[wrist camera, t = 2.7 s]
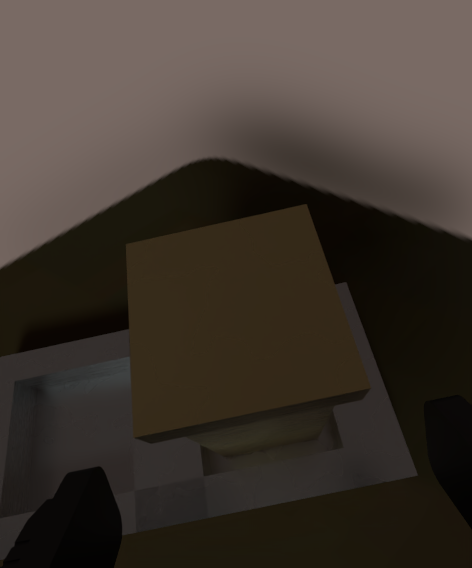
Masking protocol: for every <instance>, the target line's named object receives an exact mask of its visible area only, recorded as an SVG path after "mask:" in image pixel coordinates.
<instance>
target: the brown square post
mask: <svg viewBox="0 0 472 568" xmlns="http://www.w3.org/2000/svg"><path fill="white" fill-rule="evenodd" d="M126 257H127V284H128V310H129V336H130V362H131V389H132V415H133V438H135V439H138V440H141V441H144V442H147V443H150V444H153V443H158V442H163V441H168V440H172V439H177V438H182V437H186V438H188V439H190V440H192V441H194V442H196V443H198V444H200V445H202V446H204V447H206V448H208V449H210V450H212V451H214V452H216V453H218V454H220V455H222V456H224V457H225V458H226V457H231V456H235V455H240V454H245V453H250V452H255V451H260V450H264V449H269V448H274V447H279V446H284V445H289V444H294V443H298V442H303V441H308V440H313V439H318V438H319V436H320V434H321V432H322V430H323V428H324V426H325V424H326V422H327V420H328V418H329V416H330V414H331V412H332V410H333V408H334V406H336V405H341V404H345V403H350V402H355V401H360V400H363V398H364V397H365V396H366V394H367V393H368V392H369V391H370V389H371V386H370V383H369V380H368V377H367V374H366V372H365V369H364V366H363V363H362V360H361V357H360V354H359V352H358V349H357V346H356V343H355V340H354V337H353V335H352V332H351V329H350V326H349V323H348V320H347V318H346V315H345V312H344V309H343V306H342V303H341V301H340V298H339V295H338V292H337V289H336V286H335V284H334V281H333V278H332V275H331V272H330V269H329V267H328V264H327V261H326V258H325V255H324V252H323V249H322V247H321V244H320V241H319V238H318V235H317V232H316V230H315V227H314V224H313V221H312V218H311V215H310V213H309V210H308V207H307V204H304V205H300V206H295V207H291V208H286V209H282V210H277V211H273V212H269V213H264V214H260V215H255V216H251V217H246V218H242V219H237V220H233V221H228V222H224V223H219V224H215V225H210V226H206V227H201V228H197V229H192V230H188V231H183V232H179V233H174V234H170V235H165V236H161V237H156V238H152V239H148V240H143V241H139V242H134V243H130V244H126Z"/></svg>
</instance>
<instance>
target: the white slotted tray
mask: <svg viewBox="0 0 472 568" xmlns="http://www.w3.org/2000/svg"><path fill="white" fill-rule="evenodd" d="M335 286H336V289H337V292H338V295H339V298H340V301H341V303H342V306H343V309H344V312H345V315H346V318H347V320H348V323H349V326H350V329H351V332H352V335H353V337H354V340H355V343H356V346H357V349H358V352H359V354H360V357H361V360H362V363H363V366H364V369H365V372H366V374H367V377H368V380H369V383H370V386H371V389H370V391H369V392H368V393H367V394H366V396H365V397H364V398H363V400H360V401H355V402H350V403H345V404H341V405H336V406H334V408H333V410H332V412H331V414H330V416H329V418H328V420H327V422H326V424H325V426H324V428H323V430H322V432H321V434H320V436H319V438H318V439H313V440H308V441H303V442H298V443H294V444H289V445H284V446H279V447H274V448H269V449H264V450H260V451H255V452H250V453H245V454H240V455H235V456H231V457H226V458H225V457H224V456H222V455H220V454H218V453H216V452H214V451H212V450H210V449H208V448H206V447H204V446H202V445H200V444H198V443H196V442H194V441H192V440H190V439H188V438H186V437H182V438H177V439H172V440H168V441H163V442H158V443H153V444H150V443H147V442H144V441H141V440H138V439H135V438H133V415H132V389H131V362H130V336H129V329H128V330H123V331H118V332H114V333H109V334H104V335H100V336H95V337H91V338H86V339H81V340H77V341H72V342H68V343H63V344H58V345H54V346H49V347H45V348H40V349H35V350H31V351H26V352H22V353H17V354H12V355H8V356H3V357H0V560H2V559H5V558H6V556H7V555H8V553H9V551H10V549H11V548H12V547H14V545H15V543H14V542H15V541H16V539H17V537H18V536H19V534H20V532H21V530H22V529H23V527H24V525H25V523H26V522H27V520H28V519H29V518H30V517H31V516H32V515H33V514H34V513H35V512H36V510H37V509H38V508H39V507H40V506H41V505H42V504H43V503H44V502H45V501H46V500H47V499H52V498H53V497H54V495H55V493H56V491H57V490H58V488H59V486H60V484H61V482H62V480H63V478H64V477H65V475H66V474H67V473H69V472H73V471H77V470H82V469H87V468H92V467H97V466H100V467H102V468H103V470H104V471H105V474H106V476H107V479H108V482H109V484H110V487H111V490H112V492H113V495H114V498H115V500H116V503H117V506H118V508H119V511H120V514H121V518H122V535H126V534H131V533H135V532H140V531H145V530H150V529H155V528H160V527H165V526H170V525H175V524H180V523H185V522H190V521H195V520H200V519H205V518H210V517H215V516H220V515H225V514H230V513H234V512H239V511H244V510H249V509H254V508H259V507H264V506H269V505H274V504H279V503H284V502H289V501H294V500H299V499H304V498H309V497H314V496H319V495H324V494H328V493H333V492H338V491H343V490H348V489H353V488H358V487H363V486H368V485H373V484H378V483H383V482H388V481H393V480H398V479H403V478H408V477H413V476H418V475H417V472H416V469H415V467H414V464H413V461H412V458H411V456H410V453H409V450H408V448H407V445H406V442H405V440H404V437H403V434H402V431H401V429H400V426H399V423H398V421H397V418H396V415H395V413H394V410H393V407H392V405H391V402H390V399H389V396H388V394H387V391H386V388H385V386H384V383H383V380H382V378H381V375H380V372H379V369H378V367H377V364H376V361H375V359H374V356H373V353H372V351H371V348H370V345H369V343H368V340H367V337H366V334H365V332H364V329H363V326H362V324H361V321H360V318H359V316H358V313H357V310H356V307H355V305H354V302H353V299H352V297H351V294H350V291H349V289H348V286H347V283H346V282H344V283H340V284H335Z"/></svg>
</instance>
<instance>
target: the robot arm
mask: <svg viewBox="0 0 472 568" xmlns="http://www.w3.org/2000/svg"><path fill="white" fill-rule="evenodd" d="M424 416H425V427H426V438H427V449H428V457H429V461H430V464H431V467H432V470H433V472H434V474H435V476H436V478H437V480H438V482H439V483H440V485H441V486H442V488H443V489H444V490H445V492H446V493H447V495H448V496H449V497H450V499H451V500H452V502H453V503H454V505H455V506H456V507H457V509H458V510H459V512H460V513H461V515H462V516H463V517H464V519H465V520H466V522H467V523H468V525H469V526H470V527H471V529H472V406H471V405H470V404H469V403H468V402H467V401H466V400H465V399H464V398H463V397H461V396H459V395H455V396H450V397H445V398H440V399H435V400H430V401H426V402H425V404H424ZM121 539H122V518H121V514H120V511H119V508H118V506H117V503H116V500H115V498H114V495H113V492H112V490H111V487H110V484H109V482H108V479H107V476H106V474H105V471H104V470H103V468H102V467H100V466H97V467H92V468H87V469H82V470H77V471H73V472H69V473H67V474H66V475H65V477H64V478H63V480H62V482H61V484H60V486H59V488H58V490H57V491H56V493H55V495H54V497H53V498H52V499H47V500H46V501H45V502H44V503H43V504H42V505H41V506H40V507H39V508H38V509H37V510H36V512H35V513H34V514H33V515H32V516H31V517H30V518H29V519H28V520H27V522H26V523H25V525H24V527H23V529H22V530H21V532H20V534H19V536H18V537H17V539H16V541H15V542H14V543H15V545H14V547H12V548H11V549H10V551H9V553H8V555H7V556H6V558H5V560H4V561H3V567H0V568H114V565H115V562H116V558H117V555H118V551H119V548H120V544H121Z"/></svg>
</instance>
